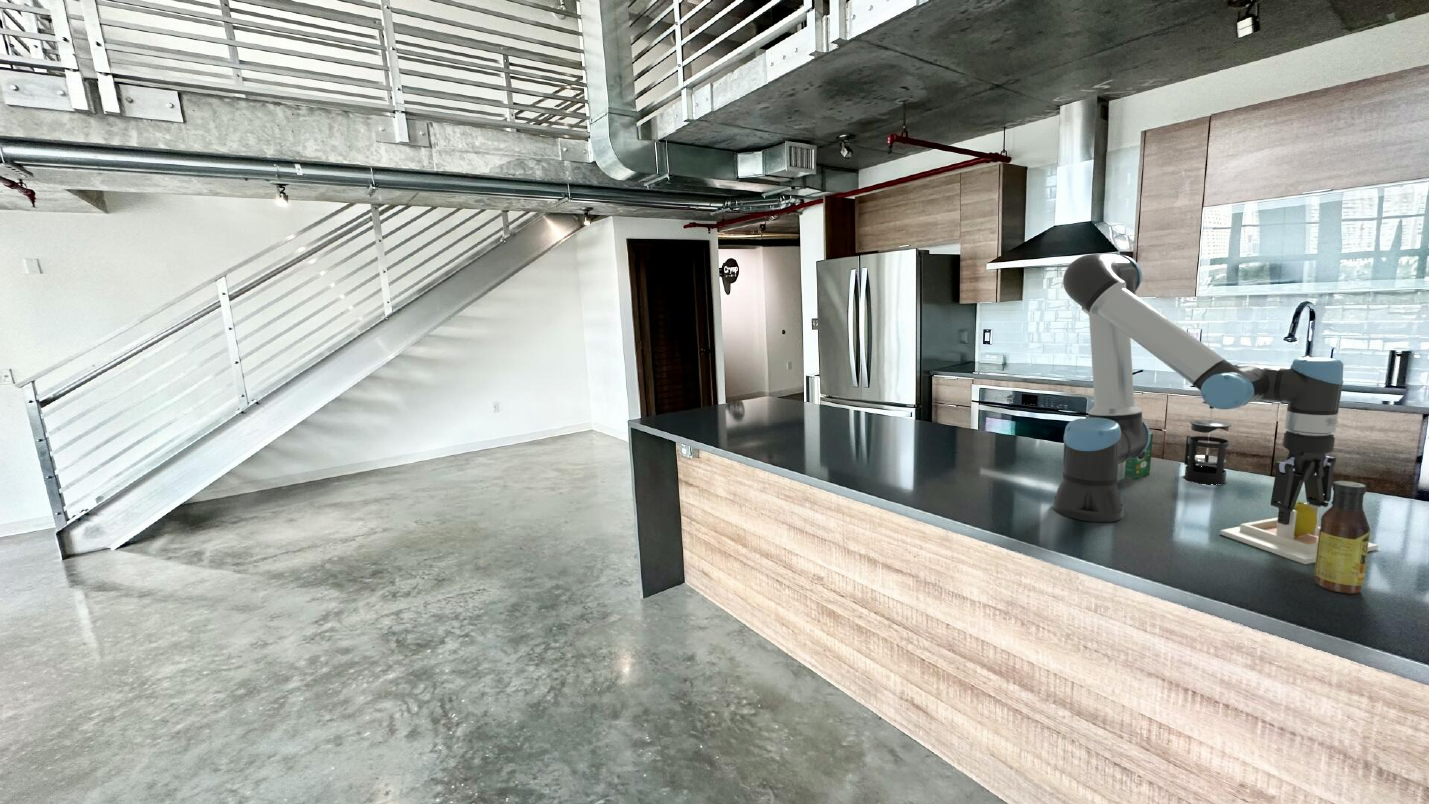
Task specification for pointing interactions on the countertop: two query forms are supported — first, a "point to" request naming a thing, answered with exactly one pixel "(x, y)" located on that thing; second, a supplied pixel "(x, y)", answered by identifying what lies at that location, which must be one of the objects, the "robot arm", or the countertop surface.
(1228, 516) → the countertop surface
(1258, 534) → the tray
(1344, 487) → the sauce bottle
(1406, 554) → the countertop surface
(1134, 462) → the coffee box
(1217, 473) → the french press
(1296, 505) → the lemon
